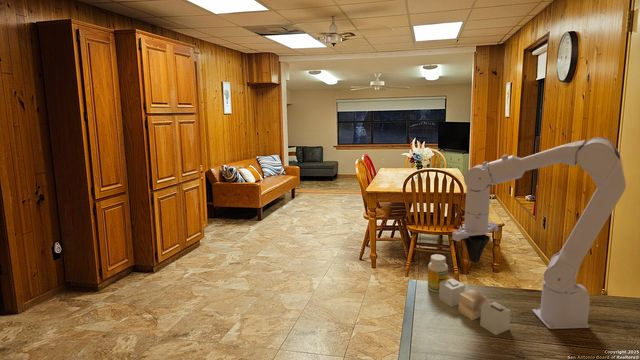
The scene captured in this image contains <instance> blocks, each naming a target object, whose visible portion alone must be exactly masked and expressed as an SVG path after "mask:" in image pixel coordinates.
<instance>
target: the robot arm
mask: <svg viewBox="0 0 640 360" xmlns="http://www.w3.org/2000/svg"><path fill="white" fill-rule="evenodd" d="M585 141H586V142H585ZM561 163H562V164H565V165H568V166H572V167H576V165H577V164H578V165H579V166H580V168H581V169H583V171H585V172H586V173H587V174H588V175H589V176H590V177H591V178H592V181H593V182H594V184H595V186H596V188H595V191H594V192H593V194H592V195H591V198H590V199H589V201H588V203H587V205H586V206H585V208H584V210H583V211H582V214H581V215H580V216H579V218H578V220H577V222H576V224H575V226H574V227H573V229H572V231H571V232H570V234H569V236H568V238H567V239H566V241H565V243H564V244H563V246H562V247H561V249H560V250H559V252H557V253H555V254H553V255H552V256H551V258H550V259H549V263H548V265H547V267H546V269H545V271H543V272H544V273H543V280H542V288H541V289H542V290H541V299H540V308H532V313H533V314H534V315H535V316H536V317H537V318H538V319H539V320H540V321H541V322H542V323H543V324H544V325H545V326H546V328H547V329H550V330H556V329H557V330H558V329H559V330H560V329H561V330H563V329H588V328H590V325H589V324H588V321H589V313H590V305H591V298H590V297H591V296H590V293H589V291H588V290H587V288H586V287H585V286H584V285H582V284H580V283H579V284H578V283H577V282H576V280H577V277H578V276H577V275H578V273H579V271H580V267H581V265H582V262H583V261H584V259H585V257H586V255H587V253H588V252H589V250H590V248H591V247H592V245H593V244H594V242H595V240H596V238H597V237H598V235H599V233H600V232H601V230H602V229H603V227H604V226H605V223H606V222H607V221H608V219H609V217H610V216H611V214H612V212H613V211H614V209H615V208H616V206H617V204H618V202H619V201H620V199H621V197H622V196H623V195H624V192H625V190H626V188H627V187H626V186H627V184H626V183H627V181H626V177H625V172H624V167H623V164H622V157H621V153H620V152H619V150H618V149H617V147H616V145H615V144H614V143H613V142H612V141H611V140H610V139H608V138H606V137H602V136H601V137H600V136H597V137H593V138H589V139H587V140H585V139H583V140H578V141H574V142H568V143H564V144H562V145H558V146H555V147H552V148H549V149H546V150H543V151H540V152H537V153H534V154H531V155H527V156H525V157H519V156H516V155H513V154H512V155H509V153H508V154H504V155H502V156H501V158H499V159H495V160H493V161H488V160H487V161H483V162H482V164H476V165H475V166H473V167H471V168H470V169H468V170H467V171H466V172H465V174H464V177H463V182H464V185H465V186H466V192H465V205H464V206H465V209H464V223H462V225H461V227H460V228H459V229H457V230H455V231H452V232H451V233H452V237H451V239H452V240H454V241H456V242H461V240H462V241H463V243H464V245H465V247H466V251H467V255H468V259H469V261H470V262H473V263H479V262H480V260H481V257H482V253H483V251H484V249H485V247H486V246H487V244H488V243H489V242H490V241H491V237H490V236H489V235H487V234H489V233H490V232H498V231H499V223H498V222H493V221H492V222H489V215H490V204H491V203H490V201H491V200H490V198H491V194H490V192H491V185H493V186H495V185H500V184H502V183H506V182H511V181H514V180H515V181H516V180H518V179H519V180H520V179H521V178H523V175H524V174H525V172H527V171H532V170H535V169H536V170H537V169H540V168H544V167H549V166H552V165H555V164H561Z"/></svg>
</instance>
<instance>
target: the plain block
mask: <svg viewBox="0 0 640 360" xmlns="http://www.w3.org/2000/svg"><path fill="white" fill-rule="evenodd" d="M485 305H487V296H486V295H483V294H481V293H480V292H478V291H476V290H474V289H469V290H466V291H465V292H463V293H460V294H459V304H458V310H457V311H458V313H460V314H462V315H463V316H465V317H466V318H468V319H469V320H471V321H473V320H476V319H478V318H481V307H482V306H485Z"/></svg>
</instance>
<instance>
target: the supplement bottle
mask: <svg viewBox="0 0 640 360" xmlns="http://www.w3.org/2000/svg"><path fill="white" fill-rule="evenodd" d="M446 258H447V257H446V256H445V255H442V254H439V253H435V254H432V255H430V262H429V263H428V265H427V289H428V290H430V291H431V292H432V293H438V294H439V286H440V282H442V281H445V280H448V279H449V278H448V276H449V275H448V274H449V273H448V272H449V266H448V264H447V263H446V260H447V259H446Z"/></svg>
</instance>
